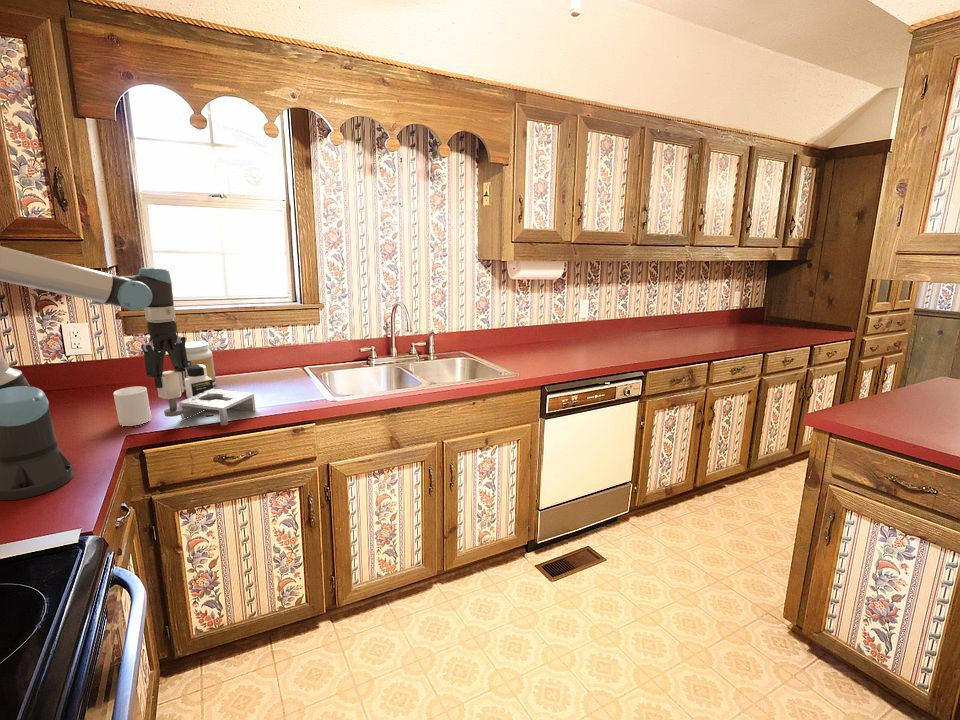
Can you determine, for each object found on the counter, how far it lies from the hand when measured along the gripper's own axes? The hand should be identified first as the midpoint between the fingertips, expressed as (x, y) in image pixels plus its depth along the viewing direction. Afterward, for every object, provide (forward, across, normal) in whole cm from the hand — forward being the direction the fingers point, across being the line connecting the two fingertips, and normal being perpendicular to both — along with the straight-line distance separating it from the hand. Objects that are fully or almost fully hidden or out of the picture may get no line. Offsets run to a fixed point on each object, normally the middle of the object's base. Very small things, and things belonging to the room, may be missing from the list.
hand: (171, 394), depth 153 cm
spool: (+6, 0, 0) cm, 6 cm away
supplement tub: (+10, +33, +24) cm, 42 cm away
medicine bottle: (+10, +24, +14) cm, 29 cm away
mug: (+11, 0, +16) cm, 19 cm away
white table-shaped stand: (+10, +12, -6) cm, 17 cm away
